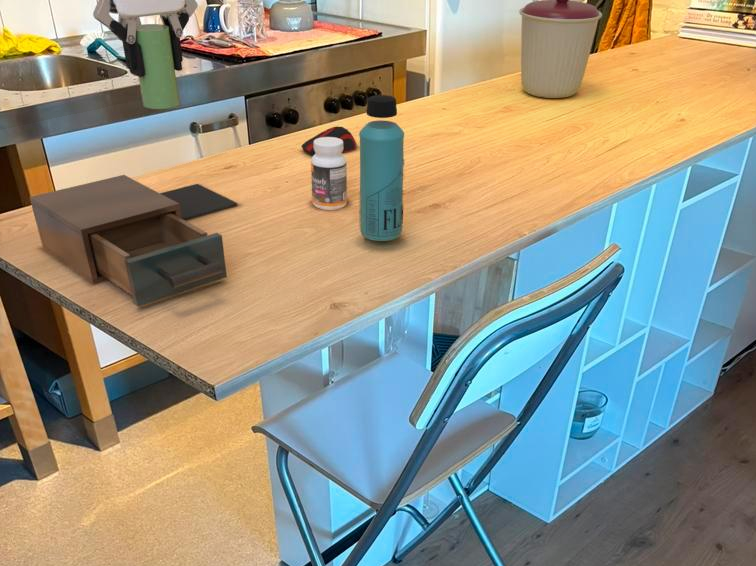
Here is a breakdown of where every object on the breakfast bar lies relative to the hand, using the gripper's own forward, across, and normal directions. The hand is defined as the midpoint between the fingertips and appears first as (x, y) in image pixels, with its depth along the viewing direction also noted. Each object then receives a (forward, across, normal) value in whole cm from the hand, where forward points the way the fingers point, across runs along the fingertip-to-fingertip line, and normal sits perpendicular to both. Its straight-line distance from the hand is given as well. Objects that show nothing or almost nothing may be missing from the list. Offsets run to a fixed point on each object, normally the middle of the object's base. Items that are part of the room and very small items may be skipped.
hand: (156, 70), depth 112 cm
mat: (+21, -5, -6) cm, 23 cm away
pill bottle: (+22, -23, +8) cm, 33 cm away
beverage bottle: (+22, -20, +25) cm, 39 cm away
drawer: (+21, +13, +18) cm, 30 cm away
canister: (+22, -108, -16) cm, 111 cm away
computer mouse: (+22, -41, -14) cm, 48 cm away
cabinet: (+21, +13, +4) cm, 25 cm away
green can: (+4, 0, 0) cm, 4 cm away
